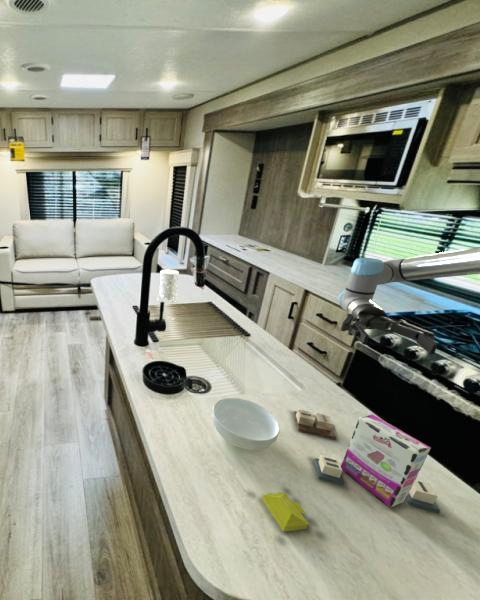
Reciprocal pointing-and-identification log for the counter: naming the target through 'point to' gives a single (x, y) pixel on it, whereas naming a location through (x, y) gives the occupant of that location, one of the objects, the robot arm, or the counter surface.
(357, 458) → the candy bar box
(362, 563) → the counter surface
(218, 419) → the cereal bowl
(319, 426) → the cream block pair
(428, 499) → the cream blocks on trays
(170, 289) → the decorative container
